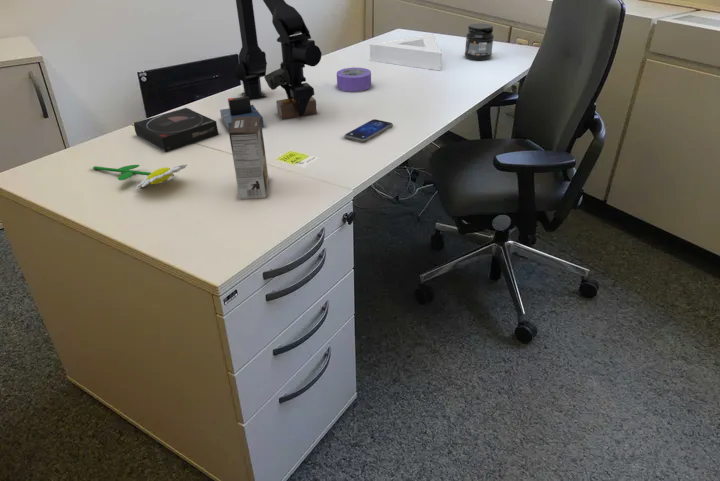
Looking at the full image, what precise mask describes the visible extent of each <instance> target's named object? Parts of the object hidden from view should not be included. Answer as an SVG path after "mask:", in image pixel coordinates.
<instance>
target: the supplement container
mask: <svg viewBox="0 0 720 481" xmlns="http://www.w3.org/2000/svg"><path fill="white" fill-rule="evenodd" d="M493 32H494V25H493V24H491V23H485V22H476V23H470V24H469V25H468V26H467V33H466V35H465V50H464V57H465V58H466V59H468V60H470V61H480V62H481V61H487V60H489V59H490V58H492V56H493V55H492V54H493V45H494V44H493V43H494V38H495V36H494V35H495V34H494V33H493Z"/></svg>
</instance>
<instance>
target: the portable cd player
mask: <svg viewBox="0 0 720 481" xmlns="http://www.w3.org/2000/svg"><path fill="white" fill-rule="evenodd" d="M217 124H218V123H217V120H215V119H212V118H210V117H208V116H206V115H203V114H201V113H199V112H197V111H195V110H192V109H190V108H188V107H183V108H180V109H176V110H173V111H170V112H166V113H163V114H162V113H161V114H159V115H156V116H152V117H148V118H144V119H142V120H138V121H135V122H133V127H134V132H135V134H136V137H137V138H139V139H141V140H143V141H144V142H146V143H148V144H150V145H152V146H153V147H155V148H158V150H160V151H162V152H164V153H168V152H171V151H174V150H177V149H180V148H183V147H186V146H189V145H192V144H195V143H199V142H201V141H204V140H207V139H209V138H213V137H216V136H219V129H218V125H217Z"/></svg>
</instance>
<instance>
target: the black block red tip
mask: <svg viewBox="0 0 720 481" xmlns="http://www.w3.org/2000/svg"><path fill="white" fill-rule="evenodd" d="M227 102H228V108H229V109H230V114H231V116H234V115H240V114H246V113H252V111H251V105H252V104H251V99H250V98H249V96H245V97H244V96H239V97H228V99H227Z"/></svg>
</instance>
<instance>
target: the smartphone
mask: <svg viewBox="0 0 720 481" xmlns="http://www.w3.org/2000/svg"><path fill="white" fill-rule="evenodd" d="M393 126H394V124H393V122H390V121H386V120H381V119H377V118H376V119H375V118H373V119H371V120H369V121H367V122H365V123H364V124H362V125H360V126H357V127H356V128H354V129H353V130H351V131H348V132H347V133H345V134H344V138H345V139H348V140H352V141H356V142H359V143H366V142H368V141H370V140H372V139H373V138H375V137H376V136H378V135H380V134H382V133H383V132H385V131H387V130H388V129H390V128H392V127H393Z"/></svg>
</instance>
